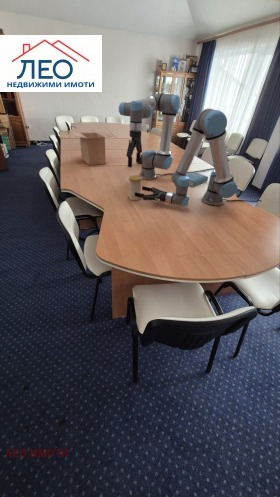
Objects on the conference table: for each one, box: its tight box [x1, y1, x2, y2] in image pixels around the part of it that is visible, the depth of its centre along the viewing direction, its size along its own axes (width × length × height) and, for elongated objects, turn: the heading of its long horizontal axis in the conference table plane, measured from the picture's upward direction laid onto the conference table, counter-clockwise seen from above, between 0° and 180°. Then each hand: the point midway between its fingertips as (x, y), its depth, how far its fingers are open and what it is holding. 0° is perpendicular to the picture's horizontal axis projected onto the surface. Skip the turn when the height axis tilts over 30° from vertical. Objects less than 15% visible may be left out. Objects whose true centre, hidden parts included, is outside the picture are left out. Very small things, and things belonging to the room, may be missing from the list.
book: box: [186, 171, 209, 188], centre depth 201 cm, size 23×16×5 cm
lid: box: [128, 174, 143, 183], centre depth 158 cm, size 9×9×2 cm
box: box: [70, 129, 114, 166], centre depth 229 cm, size 44×36×27 cm
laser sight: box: [136, 153, 143, 165], centre depth 238 cm, size 10×22×10 cm, turn 78°
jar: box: [128, 180, 142, 201], centre depth 162 cm, size 8×8×15 cm
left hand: (134, 164), depth 153 cm, fingers open, 13 cm apart
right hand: (138, 191), depth 161 cm, fingers open, 13 cm apart
